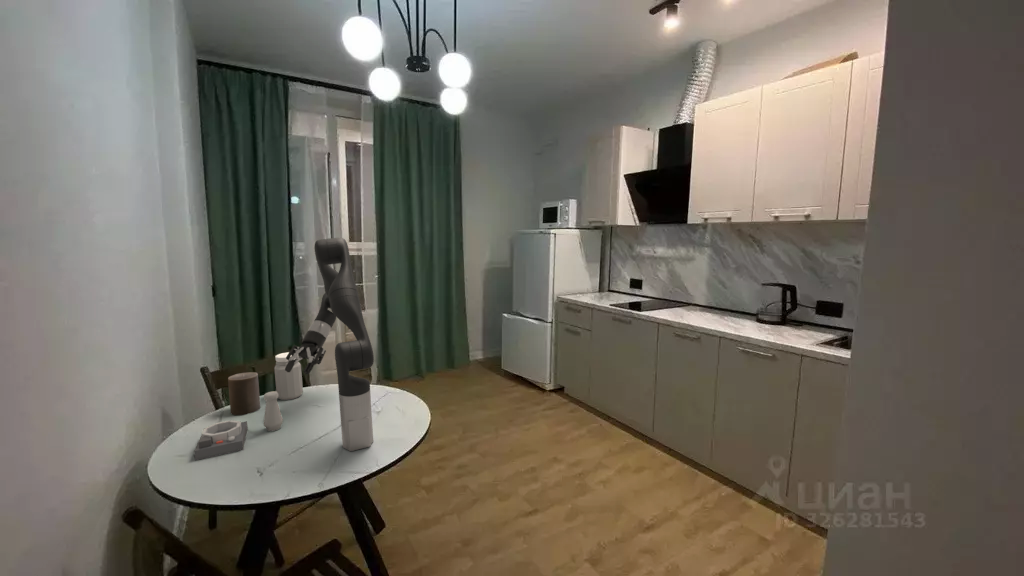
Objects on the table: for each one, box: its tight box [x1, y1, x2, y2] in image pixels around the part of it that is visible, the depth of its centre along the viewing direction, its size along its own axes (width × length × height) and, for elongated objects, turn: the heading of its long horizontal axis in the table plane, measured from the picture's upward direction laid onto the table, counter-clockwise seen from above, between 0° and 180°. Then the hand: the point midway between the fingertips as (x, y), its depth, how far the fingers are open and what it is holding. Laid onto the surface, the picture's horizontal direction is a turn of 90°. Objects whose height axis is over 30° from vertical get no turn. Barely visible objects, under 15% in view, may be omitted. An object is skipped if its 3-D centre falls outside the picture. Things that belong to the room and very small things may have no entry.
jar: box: [273, 351, 304, 401], centre depth 169 cm, size 10×10×18 cm
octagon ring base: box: [193, 419, 249, 461], centre depth 131 cm, size 16×12×6 cm
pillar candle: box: [227, 372, 261, 416], centre depth 156 cm, size 10×10×15 cm
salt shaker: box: [263, 390, 284, 432], centre depth 140 cm, size 6×6×13 cm
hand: (296, 372), depth 150 cm, fingers open, 8 cm apart
